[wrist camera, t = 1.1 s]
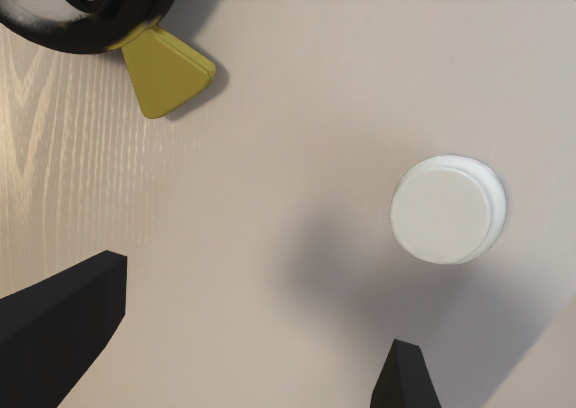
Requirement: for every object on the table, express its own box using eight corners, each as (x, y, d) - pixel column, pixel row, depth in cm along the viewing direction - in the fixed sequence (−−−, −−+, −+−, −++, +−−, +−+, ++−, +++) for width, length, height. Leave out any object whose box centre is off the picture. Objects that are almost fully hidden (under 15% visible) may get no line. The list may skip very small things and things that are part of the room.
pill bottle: (394, 214, 26) (353, 233, 19) (442, 140, 24) (417, 129, 17) (471, 263, 24) (458, 303, 17) (525, 187, 23) (535, 196, 16)
